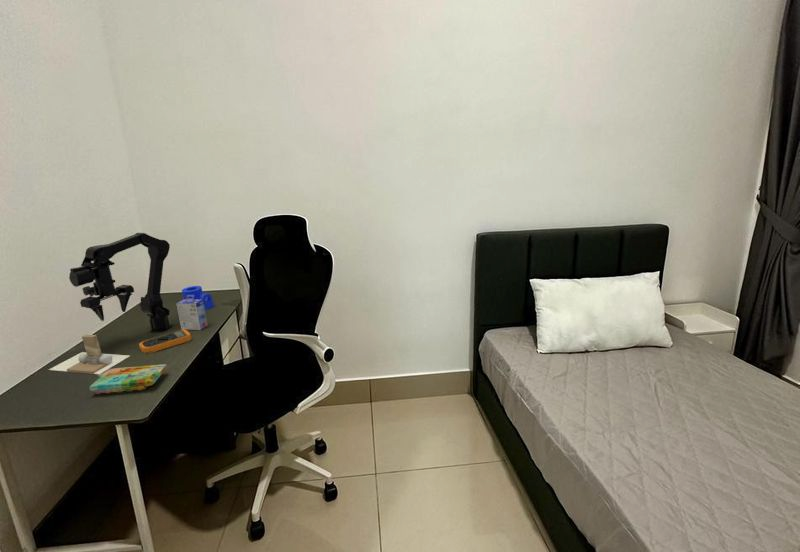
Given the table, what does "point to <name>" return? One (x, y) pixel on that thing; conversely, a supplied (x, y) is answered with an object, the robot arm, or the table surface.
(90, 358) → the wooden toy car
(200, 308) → the ink cartridge box
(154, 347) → the multimeter
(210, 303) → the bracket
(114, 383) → the puzzle game
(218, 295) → the table surface
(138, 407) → the table surface
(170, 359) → the table surface
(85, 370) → the board
